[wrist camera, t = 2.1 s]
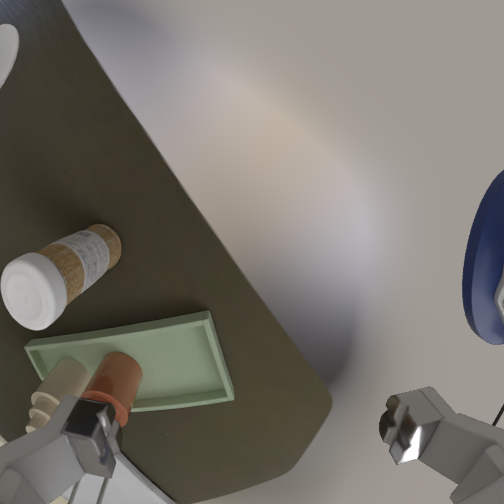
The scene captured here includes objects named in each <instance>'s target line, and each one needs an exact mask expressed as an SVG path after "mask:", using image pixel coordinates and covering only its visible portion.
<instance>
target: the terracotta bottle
mask: <svg viewBox="0 0 504 504" xmlns="http://www.w3.org/2000/svg"><path fill="white" fill-rule="evenodd" d="M142 378H143V372H142V369H141V367H140V365H139V364H138V363H137V361H136V360H135V359H133V358H132V357H131V356H129V355H127V354H124V353H121V352H111V353H108V354H106V355H105V356H104V357H103V359H102V360H101V362H100V364H99V365H98V367H97V369H96V370H95V372H94V374H93V375H92V377H91V379H90V380H89V382H88V384H87V386H86V387H85V389H84V391H83V393H82V394H81V396H80V397H82V398H87V399H92V400H97V401H102V402H108V403H112V404H113V405H114V407H115V410H116V415H115V419H116V420H117V421H118V422H119V423H120V426H121V427H122V426H124V425H125V424H126V423H127V421H128V418H129V415H130V412H131V409H132V407H133V404H134V401H135V398H136V395H137V393H138V390H139V387H140V384H141V381H142Z"/></svg>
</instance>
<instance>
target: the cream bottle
mask: <svg viewBox="0 0 504 504" xmlns="http://www.w3.org/2000/svg"><path fill="white" fill-rule="evenodd" d="M90 379H91V375H90V373H89V372H88V370H87V369H86V368H85V366H84V365H82V364H81V363H80V362H79V361H77V360H75V359H72V358H69V357H64V358H61V359H59V360H58V361H57V363H56V364H55V365H54V367H53V368H52V369H51V370H50V372H49V373H48V374H47V376H46V377H45V378H44V380H43V381H42V382H41V384H40V385H39V386H38V388H37V389H36V390H35V392H34V393H33V394H32V397H31V401H32V404H33V406H32V408H31V409H30V411H29V416H30V418H31V420H30V421H29V423H28V425H27V426H26V431H27V433H30V432H32V431H34V430H36V429H38V428H40V427H41V428H45V426H46V424H47V423H48V421H49V419H50V418H51V416H52V414H53V413H54V411H55V409H56V408H57V406H58V405H59V403H60V401H61V400H62V398H63V397H64V396H66V395H67V394H68V395H72V396H76V397H80V396H81V394H82V393H83V391H84V389H85V387H86V386H87V384H88V382H89V380H90Z"/></svg>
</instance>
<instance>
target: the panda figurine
mask: <svg viewBox="0 0 504 504" xmlns="http://www.w3.org/2000/svg"><path fill="white" fill-rule="evenodd" d="M18 49H19V33H18V31H17V29H16V28H15V27H14V26H12V25H10V24H2V25H0V88H1V87H2V85H3V84H4V82H5V81H6V79H7V77H8V76H9V74H10V72H11V70H12V68H13V65H14V63H15V60H16V57H17V54H18Z"/></svg>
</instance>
